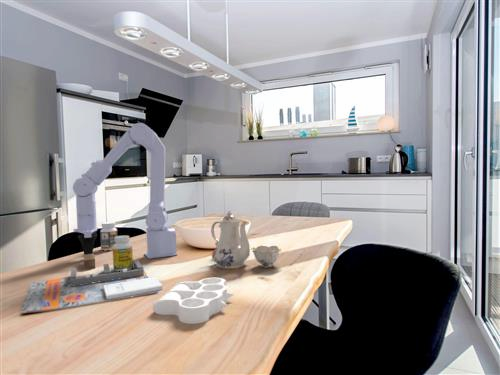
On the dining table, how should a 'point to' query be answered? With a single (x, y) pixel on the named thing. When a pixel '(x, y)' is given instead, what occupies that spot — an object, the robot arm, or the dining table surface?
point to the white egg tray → (194, 300)
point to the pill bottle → (108, 235)
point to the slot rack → (106, 274)
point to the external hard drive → (132, 287)
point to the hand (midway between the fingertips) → (88, 256)
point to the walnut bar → (89, 261)
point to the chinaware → (238, 246)
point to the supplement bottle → (122, 254)
